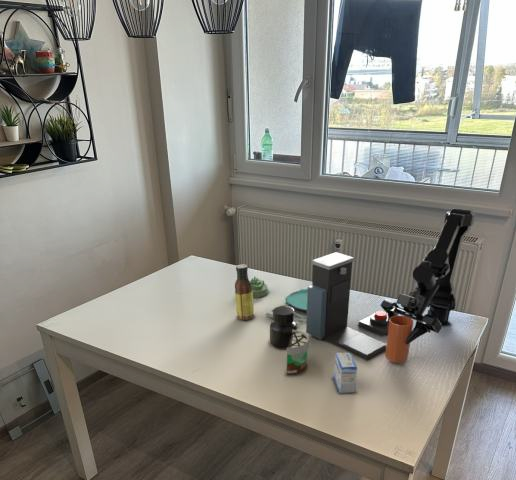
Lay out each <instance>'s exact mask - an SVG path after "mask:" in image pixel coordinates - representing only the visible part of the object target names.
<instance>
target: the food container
mask: <svg viewBox="0 0 516 480" xmlns="http://www.w3.org/2000/svg"><path fill="white" fill-rule="evenodd" d="M310 347H311V341H310V338H309V336H308V335H307V333H306V332H303V331H301V330H298V329H297V330H292V336H291V339H290V343H289V346H288V348H286V353H285V355H286V376H295V375H299V374H302V373H303V372H304V371H305V370H306V365H307V358H308V357H307V356H308V350H309V349H310Z"/></svg>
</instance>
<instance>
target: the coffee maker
mask: <svg viewBox="0 0 516 480" xmlns="http://www.w3.org/2000/svg"><path fill="white" fill-rule="evenodd" d="M354 260H355V258H354V256H353V257H352V256H350V255H348V254H344V253H340V252H338V251H335V252H332V253H330V254H326V255H324V256H321V257H317V258H314V259H311V264H312V280H311V281H312V282H311V284H310V285H308V286H307V289H308V293H307V311H306V318H307V319H306V322H305V324H306V326H305V334H308V335H310V336H312V337H314V338H316V339H318V340H321V339H322V340H325V341H327V342H329V343H331V344H333V345H335V346H337V347H339V348H341V349H343V350H345V351H346V352H348V353H350V354H351V353H352V354H354V355H356V356H357V357H359V358H361V359H364V360H366V361H368V360H369V359H372V358H373V357H374V356H376V355H378V354H380V353H381V352H384V351H385V350H386V343H385V342H383V341H381V340H378V339H376V338H374V337H372V336H369V335H367V334H365V333H363V332H361V331H358V330H356V329H354V328H351V327H349V326H348V321H349V309H350V306H349V305H350V294H351V282H352V270H353V262H354Z"/></svg>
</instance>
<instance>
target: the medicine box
mask: <svg viewBox="0 0 516 480" xmlns="http://www.w3.org/2000/svg"><path fill="white" fill-rule="evenodd" d="M357 373H358V366H357V364H356V363H355V360H354V358H353V356H352V354H351V352H338V353H335V358H334V369H333V380H334V382H335V385H336V387H337V389H338V392H339V393H340V394H350V393H355V392H356V391H355V390H356V385H357V384H356V383H357Z"/></svg>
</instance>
